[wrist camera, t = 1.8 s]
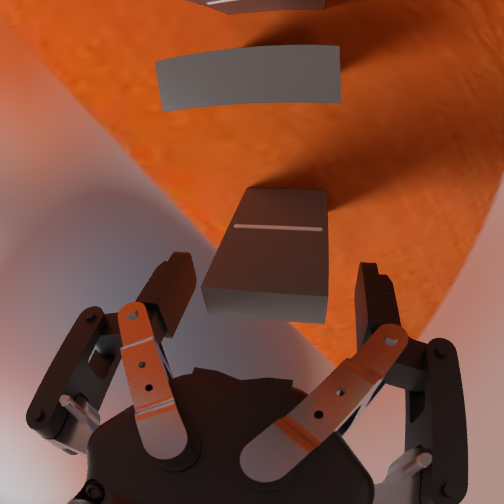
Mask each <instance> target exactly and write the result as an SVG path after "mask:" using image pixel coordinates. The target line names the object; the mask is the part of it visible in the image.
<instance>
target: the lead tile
mask: <svg viewBox="0 0 504 504" xmlns="http://www.w3.org/2000/svg"><path fill="white" fill-rule="evenodd" d="M328 279H329V251H328V205H327V190H310V189H277V188H247V189H246V191H245V193H244V195H243V197H242V199H241V201H240V203H239V205H238V207H237V210H236V212H235V214H234V216H233V218H232V220H231V222H230V224H229V226H228V229H227V231H226V233H225V235H224V237H223V239H222V241H221V244H220V246H219V248H218V250H217V252H216V254H215V257H214V259H213V261H212V263H211V265H210V267H209V270H208V272H207V274H206V276H205V278H204V281H203V283H202V285H201V290H202V294H203V298H204V301H205V305H206V309H207V312H208V314H217V315H226V316H236V317H246V318H255V319H267V320H278V321H291V322H305V323H321V324H325V317H326V310H327V302H328Z"/></svg>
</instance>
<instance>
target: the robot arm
mask: <svg viewBox="0 0 504 504" xmlns="http://www.w3.org/2000/svg"><path fill="white" fill-rule="evenodd" d="M195 287H196V274H195V270H194V266H193V262H192V257H191V255H190V253H188V252H174V253H173V254H172V255H171V257H170V259H169V260H168V261H164V262H163V263H162V264H160V265H159V266H158V267H157V268H156V269H155V271H154V272H153V274H152V276H151V277H150V279H149V281H148V282H147V283H146V285H145V287H144V288H143V290H142V291H141V293H140V295H139V296H138V298H137V299H136V301H135V302H131V303H128V304H126V305H124V306H123V307H122V308H121V309H120V310H119V312H118V313H110V314H104V312H103V311H102V309H101V308H100V307H97V306H93V307H89V308H87V309H85V310H84V311H83V312H82V313H81V314H80V315H79V317H78V319H77V320H76V322H75V323H74V325H73V327H72V328H71V330H70V332H69V333H68V335H67V337H66V338H65V340H64V342H63V344H62V345H61V347H60V349H59V351H58V352H57V354H56V356H55V358H54V360H53V361H52V363H51V365H50V367H49V369H48V371H47V372H46V374H45V376H44V378H43V380H42V382H41V384H40V386H39V388H38V390H37V392H36V394H35V396H34V398H33V400H32V402H31V404H30V406H29V408H28V410H27V413H26V421H27V424H28V425H29V427H30V428H31V429H33V430H34V431H36V432H37V433H38V434H40V435H41V436H42V437H43V438H44V439H45V440H47V441H48V442H50V443H51V444H53V445H54V446H56V447H57V448H60V449H62V450H63V451H65V452H67V453H69V454H71V455H76V454H80V455H83V456H85V457H87V460H88V471H87V479H86V483H85V485H84V487H83V488H82V489H81V491H80V492H79V493H78V494H77V495H76V496H75V497H74V498H73V499H72V500H70V501H69V502H68V504H459V503H460V502H461V501H462V500H463V498H464V497H465V495H466V492H467V488H468V444H467V427H466V414H465V404H464V395H463V388H462V381H461V374H460V368H459V362H458V357H457V351H456V348H455V347H454V345H453V344H452V343H451V342H450V341H448V340H446V339H443V338H435V339H432V340H431V341H430V342H429V343H428V344H426V343H423V342H420V341H416V340H414V339H412V338H410V337H409V336H408V334H407V332H406V331H405V330H404V329H403V328H402V327H401V323H400V317H399V312H398V307H397V302H396V297H395V293H394V287H393V283H392V281H391V280H390V279H389V277H388V276H387V275H380V274H378V268H377V264H376V263H365V262H360V265H359V270H358V276H357V282H356V287H355V315H356V334H357V353H356V354H355V355H354V356H353V357H352V358H351V359H349V358H346V359H345V360H344V361H343V362H342V363H341V364H340V365H339V366H338V367H337V368H336V369H335V370H334V371H333V372H332V373H331V374H330V375H329V376H328V377H327V378H326V379H325V380H324V381H323V382H322V383H321V384H320V385H319V386H318V387H317V388H316V389H315V390H313V391H312V392H311V393H310V394H309V395H308V394H307V393H305V392H304V391H302V390H299V389H297V388H294V387H292V384H293V380H286V379H275V378H259V379H249V380H239V379H236V378H233V377H231V376H228V375H226V374H223V373H221V372H218V371H214V370H208V369H202V368H196V367H195V368H194V370H193V373H192V374H187V375H182V376H179V377H176V378H175V377H174V375H173V372H172V370H171V367H170V364H169V362H168V359H167V356H166V353H165V350H164V347H163V345H162V343H161V342H162V339H163V337H166V338H172V337H173V335H174V333H175V331H176V329H177V327H178V324H179V322H180V320H181V318H182V316H183V314H184V311H185V309H186V307H187V305H188V303H189V301H190V298H191V296H192V294H193V292H194V290H195ZM94 347H95V349H96V350H95V352H94V353H93V355H92V357H91V360H90V361H89V363H88V360H89V357H90V355H91V353H92V351H93V349H94ZM121 358H122V360H123V364H124V368H125V373H126V377H127V382H128V386H129V389H130V393H131V397H132V401H133V405H132V406H130V407H129V408H127V409H125V410H124V411H122V412H121V413H119V414H118V415H116V416H114V417H113V418H111V419H110V420H108V421H106V422H105V423H103V424H102V425H100V415H99V413H98V411H99V409H100V406H101V404H102V402H103V399H104V397H105V394H106V392H107V389H108V387H109V385H110V383H111V380H112V378H113V376H114V374H115V371H116V369H117V367H118V365H119V362H120V360H121ZM386 384H389V385H393V386H396V387H399V388H403V389H405V396H406V397H405V398H406V426H405V428H406V430H405V453H404V454H403V455H402V456H400V457H399V458H397V459H396V460H395V461H394V462H393V463H392V464H391V465H390V467H389V469H388V473H387V476H386V478H385V480H384V481H383V482H382V483H379V484H374V483H373V480H372V478H371V476H370V474H369V473H368V472H367V470H366V469H365V467H364V466H363V465H362V463H361V462H360V461H359V459H358V458H357V457H356V455H355V454H354V453H353V451H352V450H351V449H350V447H349V446H348V445H347V443H346V442H345V440H344V439H343V438H342V437H343V436H344V435H345V434H346V433H347V432H348V431H349V430H350V429H351V428H352V426H353V425H354V424H355V423H356V421H357V420H358V419H359V418H360V416H361V415H362V414H363V412H364V411H365V410H366V409H367V407H368V406H369V405H370V404H371V402H372V401H373V400H374V399H375V397H376V396H377V395H378V394H379V393H380V391H381V390H382V389H383V388H384V386H385V385H386Z"/></svg>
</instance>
